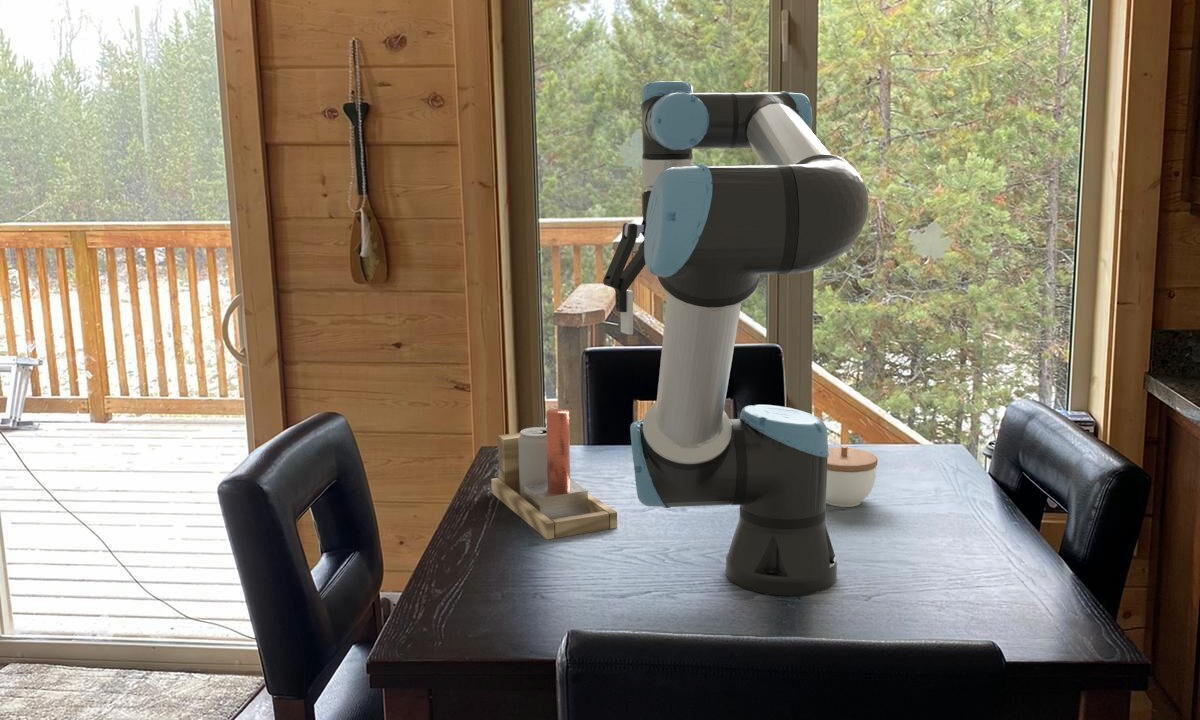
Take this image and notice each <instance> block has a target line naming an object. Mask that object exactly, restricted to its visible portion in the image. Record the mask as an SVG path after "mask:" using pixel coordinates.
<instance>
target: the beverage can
mask: <svg viewBox="0 0 1200 720" xmlns="http://www.w3.org/2000/svg"><path fill="white" fill-rule="evenodd" d="M519 433H520V434H521V435H520V437H519V439H518V447H519V482H520V496H521V497H522V498H524V486H525V485H532V484H538V483H545V482H548V480H547V426H546V427H545V426H544V427H543V426H537V427H536V426H535V427H534V426H532V427H527V428H523V429H521V430H520V432H519Z"/></svg>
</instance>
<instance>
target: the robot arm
mask: <svg viewBox="0 0 1200 720" xmlns="http://www.w3.org/2000/svg"><path fill="white" fill-rule="evenodd" d="M640 110H641V116H642V117H641V120H642V121H641V122H642V123H641V128H642V130H641V131H642V133H641V134H642V135H641V136H642V157H641V158H642V161H641V162H642V164H641V165H642V166H641V169H642V170H641V175H642V176H641V177H642V178H641V181H642V183H641V185H642V186H643V187H644V188H645V190H643V192H641V193H642V194H641V197H642V198H641V204H642V205H641V210H642V211H641V213H642V221H641V224H636V223H633V222H627V221H626V222H624V223H623V224H622V232H621V239H620V240H619V243H618V245H617V248H616V250H615V252H614V255H613V257H612V260H611V261H610V263H609V266H608V268H607V271H606V272H605V275H604V277H603V280H602V283H603V285H604V286H606V287H610V288H612V289H614V291H615V295H614V296H615V310H616V311H617V312H619V313H620V333H622V334H626V335H630V336H633V335H634V291H633V290H631V289H629V288H630V286H631V285H632V283H633V282H634V281H635V280H636V278H637V277H638V276H639V274H640V273H641V271H642V270H643V269H644V268H645V267H646V269H647V271H648V273H650V275H652V276H656V279H657V281H658V283H659V285H660V287H661V288H662V290H663V291H664V292H665V293H666V294H667V295H666V301H665V302H666V303H665V305H666V306H665V315H664V325H663V335H662V342H661V343H662V345H661V353H660V355H661V356H660V363H659V364H660V367H659V376H658V384H657V395H656V401H655V402H654V403H653V404H651V406H650V407H649V408H648V409H647V410H646V412H645V414H644V418H643V419H639V420H637V421H633V422H632V423H631V424H630V426H629V427H630V428H629V429H630V440H631V441H630V443H631V453H632V461H633V469H634V479H635V487H636V488H635V489H636V494H637V498H638V500H639V502H640V503H641V504H642V505H644V506H646V507H657V508H658V507H661V508H665V509H671V508H679V507H680V508H681V507H684V508H685V507H705V506H706V507H708V506H709V507H710V506H739V518H738V519H739V520H738V523H737V525H736V528H735V532H734V534H733V537H732V540H731V542H730V546H729V550H728V551H727V553H726V558H725V575H726V577H727V578H728V579H729V580H730V581H731V582H732V583H734V584H736V585H738V586H739V587H741V588H743V589H746V590H749V591H753V592H757V593H762V594H765V595H766V594H767V595H775V596H801V595H810V594H814V593H819V592H821V591H824V590H827V589H828V588H830V587H831V586H833V585H834V584H835V583H836V581H837V576H838V575H837V572H838V571H837V570H838V569H837V568H838V563H837V557H836V555H835V552H834V549H833V545H832V541H831V539H830V538H831V537H830V535H829V531H828V528H827V525H826V517H827V515H826V512H827V508H826V507H827V503H826V487H827V459H828V457H829V451H828V448H829V442H828V440H829V439H828V438H829V437H828V428H827V426H826V424H825V422H823V420H822V419H820V418H819V417H818V416H816V415H813V414H812V413H809V412H807V411H803V410H800V409H797V408H796V409H795V408H792V407H786V406H782V405H772V404H754V405H746V406H743V408H741V411H740V413H739V418H729V416H728V414H727V412H726V411H725V405H726V398H727V392H728V388H729V387H728V386H729V382H730V381H729V379H730V375H731V374H730V373H731V368H732V362H733V355H734V349H735V343H736V339H737V332H738V327H739V320H740V314H741V308H742V303H744V302H746V301H748V299H750V298H752V297H751V296H752V295H753V294H755V292H756V290H757V288H758V286H759V283H760V279H761V275H786V274H789V275H790V274H803V273H807V272H813V271H815V270H817V269H820V268H822V267H825V266H827V265H830V264H831V263H833V262H834V261H836V259H838V258H840V257H841V256H843V255H844V254H845V252H846V251H849V249H850V248H851V247H852V245H854V244H855V243H856V241H857V239H858V237H859V236H860V234H861V233H862V231H863V230H864V226H865V224H866V222H867V218H868V214H869V213H868V212H869V194H868V191H867V189H866V185H865V182H864V180H863V178H862V177H861V176H860V174H859V172H857V171H856V169H855V168H854V167H853V166H852V165H851V164H850V162H848V161H847V160H846V159H844V158H842V157H840V156H838V155H835V154H831V153H830V152H829V151H828V150H827V148H826V147H825V146H824V145H823V144H822V143H821V141H820V139H819V138H817V136H816V135H815V134H814V133H813V131H812V126H813V111H812V106H811V102H810V99H809V97H808V96H807V95H806V94H804V93H801V92H787V91H778V92H738V93H737V92H736V93H734V92H732V93H731V92H699V93H698V92H697V93H696V92H695V93H694V88H693V85H692V83H690V82H689V81H679V80H678V81H675V80H673V81H670V80H669V81H663V80H662V81H654V82H652V81H650V82H646V83H645V84H644V85H643V86H642V99H641V104H640ZM694 149H695V150H697V149H698V150H699V149H700V150H701V149H707V150H709V149H710V150H711V149H751V150H752V151H753V152H754V154H755V156H756V157H757V159H758V161H759V162H760V164H761V165H757V164H756V165H719V166H711V165H710V166H708V165H706V164H704V163H695V164H694V159H693V158H694V156H693V155H694V154H693V150H694ZM640 234H641V235H642V236H643V238H644V239H643V240H642V242H641V243H640V245H639V246H638V248H637V249H638V250H637V251H636V252H635V254H634V255H633V257H632V258H631V260H630V261H629V258H630V256H631V254H632V251H633V249H634V247H635V244H636V241H637V239H638V238H639V237H640ZM628 261H629V262H628Z"/></svg>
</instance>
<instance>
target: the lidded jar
mask: <svg viewBox="0 0 1200 720" xmlns="http://www.w3.org/2000/svg"><path fill="white" fill-rule="evenodd" d="M828 451H829V457H828V459H827V487H826V505H829V506H832V507H839V508H851V507H852V508H853V507H857V506H860V505H861V504H862V502H863V501H864V500H865V499H866V498H867V497H869V495H870V494H871V492H872V490H873V489H874V485H875V482H876V477H877V465H878V461H879V460H878V458H877V455H875V454H874V453H872V452H870V451H867V450H863V449H856V448H850V447H848V446H847V445H841V447H828Z"/></svg>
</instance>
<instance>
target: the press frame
mask: <svg viewBox="0 0 1200 720" xmlns="http://www.w3.org/2000/svg"><path fill="white" fill-rule="evenodd" d="M520 435H521V434H520V432H514V433H508V434H498V435H497V452H498V453H497V454H498V455H497V456H498V457H497V458H498V477H496V478H495V477H494V478H491V480H490V481H491V487H490V488H491V489H490V490H491V494H492V495H493V496H494V497H496V498H497V499H498V500H499V501H500V502H502V503H503V504H504V505H505V506H507V508H509V509H510V510H511V511H513V512H514V513H515V514H516V515H517V516H518V517H520V518H521V520H524V522H525V523H527V524H528V525H529V526H530V527H531V528H533V529H534V530H535V531H536V532H537V533H539V534H540V535H541V536H542V537H543V538H544V539H546V540H553V539H557V538H563V537H570V536H575V535H581V534H588V533H592V532H593V533H594V532H600V531H605V530H609V529H610V530H611V529H616V528H618V511H616V510H615V509H613V508H612V507H610V506H608V504H606V503H605V502H602V501H601V500H600V499H599V498H597V497H596V496H594V495H593V494H591V493H590V492H588V514H583V515H577V516H571V517H565V518H558V519H552V520H550V519H549V518H548V517H546V516H545V515H544V514H543V513H541V512H540V511H539V510H538V509H536V508H535V507H534V506H533V505H531V504H530V503H529V502H527V501H526V500H525V499H524V498H522V497H521V496H520V482H519V447H518V439H519V437H520Z"/></svg>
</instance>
